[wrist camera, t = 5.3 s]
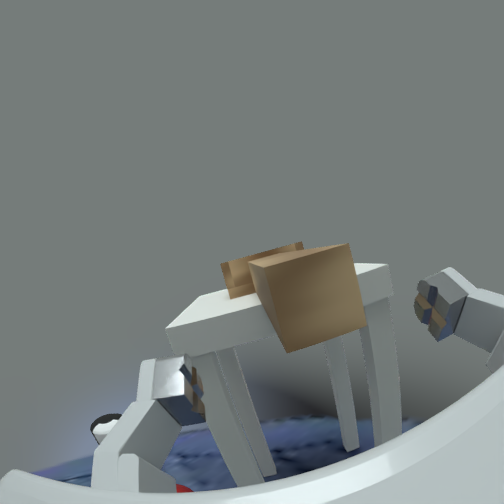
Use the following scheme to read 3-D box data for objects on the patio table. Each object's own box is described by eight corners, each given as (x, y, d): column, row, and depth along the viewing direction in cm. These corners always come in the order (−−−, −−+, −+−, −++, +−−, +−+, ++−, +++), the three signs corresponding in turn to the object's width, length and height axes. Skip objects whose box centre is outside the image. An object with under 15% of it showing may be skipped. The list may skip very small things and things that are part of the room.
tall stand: (270, 547, 15) (164, 328, 15) (260, 468, 30) (199, 295, 30) (401, 504, 16) (387, 264, 16) (356, 438, 31) (321, 262, 31)
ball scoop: (215, 371, 7) (184, 273, 7) (232, 290, 27) (224, 262, 27) (420, 302, 7) (401, 213, 7) (294, 272, 28) (287, 245, 28)
